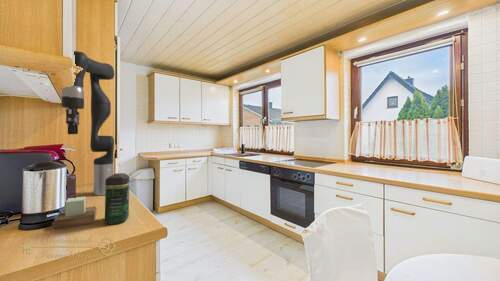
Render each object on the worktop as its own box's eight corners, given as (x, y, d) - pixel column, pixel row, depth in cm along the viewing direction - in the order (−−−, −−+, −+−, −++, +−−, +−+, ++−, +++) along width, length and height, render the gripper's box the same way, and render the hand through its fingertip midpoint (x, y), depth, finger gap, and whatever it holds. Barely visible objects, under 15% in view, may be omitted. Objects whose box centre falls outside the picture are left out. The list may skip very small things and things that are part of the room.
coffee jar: (126, 223, 80) (127, 175, 80) (102, 226, 77) (102, 176, 77) (130, 214, 89) (131, 171, 89) (108, 216, 86) (109, 172, 86)
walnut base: (59, 218, 84) (59, 211, 84) (96, 212, 90) (96, 206, 90) (51, 230, 74) (51, 221, 73) (94, 222, 80) (94, 215, 80)
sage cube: (68, 212, 83) (68, 198, 82) (85, 209, 86) (85, 196, 85) (65, 216, 78) (65, 202, 78) (83, 214, 81) (83, 200, 81)
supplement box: (76, 208, 95) (76, 173, 95) (66, 212, 90) (66, 175, 90) (59, 207, 96) (59, 173, 96) (48, 211, 91) (48, 175, 91)
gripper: (65, 98, 95) (65, 133, 95) (57, 93, 83) (57, 134, 83) (85, 100, 99) (85, 134, 99) (81, 95, 87) (81, 134, 87)
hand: (73, 134), depth 91 cm, fingers open, 8 cm apart
